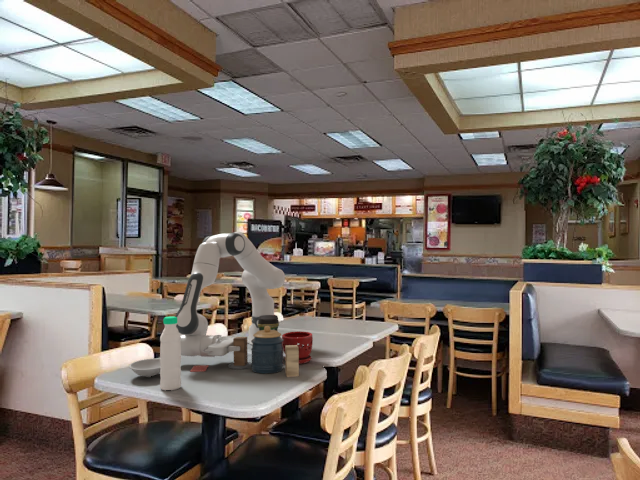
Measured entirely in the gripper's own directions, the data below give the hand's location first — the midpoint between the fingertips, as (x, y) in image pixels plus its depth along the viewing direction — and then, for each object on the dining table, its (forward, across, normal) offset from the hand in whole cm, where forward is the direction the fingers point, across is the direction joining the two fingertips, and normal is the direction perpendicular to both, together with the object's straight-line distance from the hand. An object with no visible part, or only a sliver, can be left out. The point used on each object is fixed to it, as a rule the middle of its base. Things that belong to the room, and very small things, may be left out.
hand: (242, 346), depth 199 cm
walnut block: (-1, 0, +7) cm, 7 cm away
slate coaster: (-1, 0, +8) cm, 8 cm away
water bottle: (-16, -33, +8) cm, 38 cm away
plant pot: (+21, +10, +8) cm, 25 cm away
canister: (+12, -4, +8) cm, 15 cm away
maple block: (+23, -11, +8) cm, 27 cm away
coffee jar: (+6, +19, +8) cm, 22 cm away
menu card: (-16, -6, +9) cm, 19 cm away
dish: (-31, -20, +8) cm, 38 cm away
